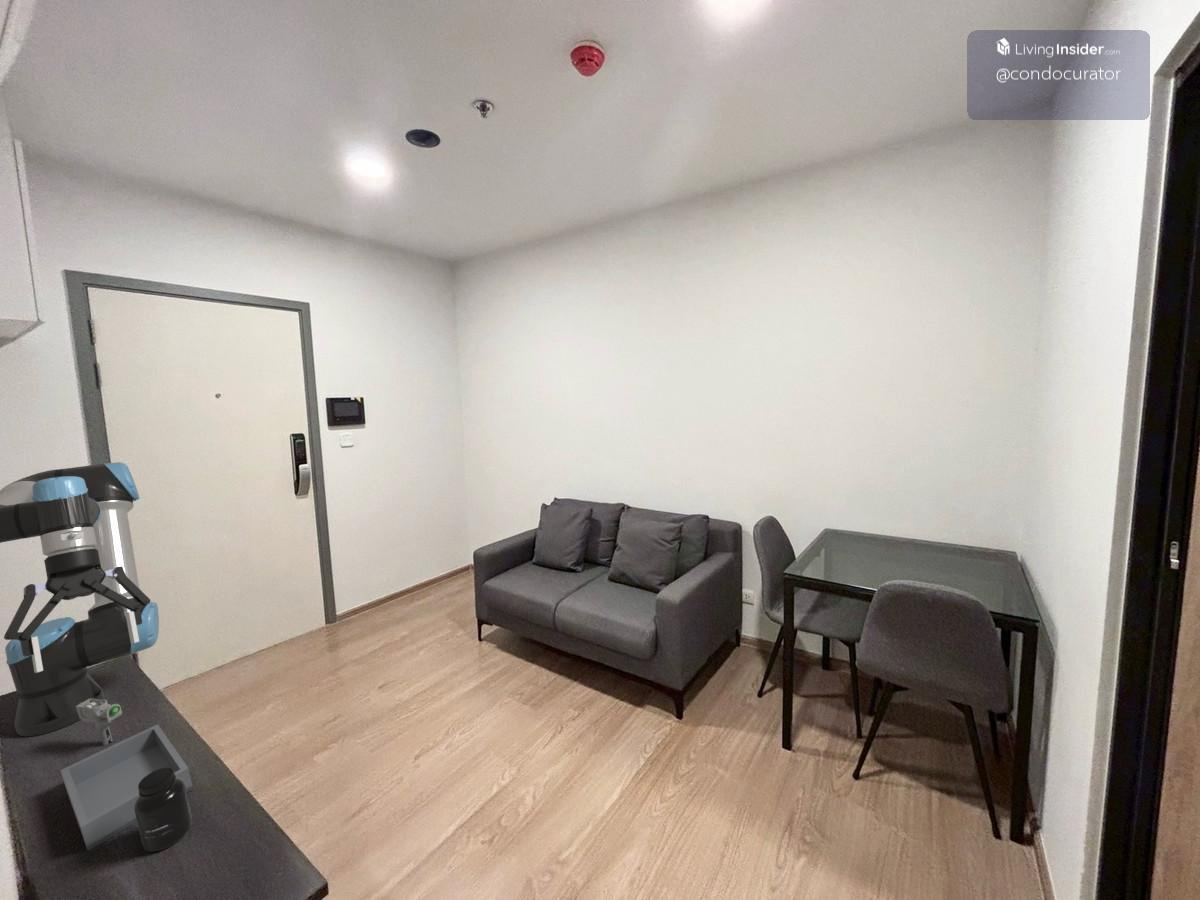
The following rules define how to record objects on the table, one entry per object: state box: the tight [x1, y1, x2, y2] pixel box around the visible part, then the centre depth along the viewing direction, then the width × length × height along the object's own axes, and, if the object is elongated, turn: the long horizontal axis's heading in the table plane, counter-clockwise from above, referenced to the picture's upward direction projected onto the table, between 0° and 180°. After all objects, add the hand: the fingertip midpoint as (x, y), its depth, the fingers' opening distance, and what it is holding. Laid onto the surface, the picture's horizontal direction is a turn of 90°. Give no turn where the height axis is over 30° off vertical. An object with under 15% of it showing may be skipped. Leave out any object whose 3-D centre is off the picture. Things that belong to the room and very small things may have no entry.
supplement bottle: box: [134, 767, 193, 853], centre depth 88 cm, size 7×7×12 cm
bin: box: [60, 723, 194, 852], centre depth 98 cm, size 22×15×5 cm
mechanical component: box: [76, 698, 123, 746], centre depth 112 cm, size 3×10×10 cm, turn 79°
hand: (89, 656), depth 98 cm, fingers open, 13 cm apart
